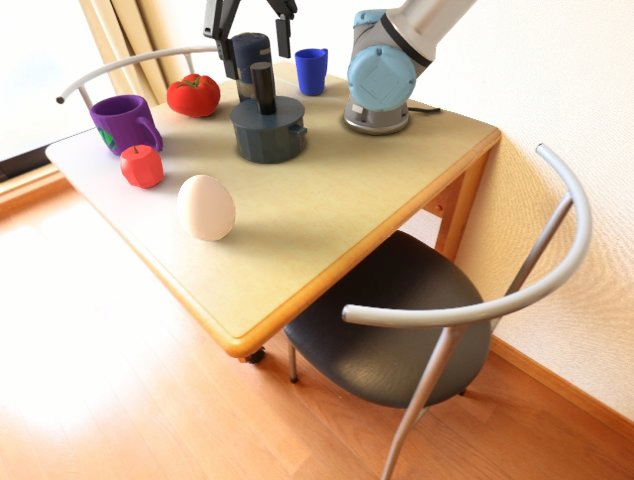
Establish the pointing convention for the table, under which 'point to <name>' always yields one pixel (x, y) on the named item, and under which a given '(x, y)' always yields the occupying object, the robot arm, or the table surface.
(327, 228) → the table surface
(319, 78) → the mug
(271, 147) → the pot
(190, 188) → the egg
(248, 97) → the canister
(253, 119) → the lid
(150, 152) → the apple
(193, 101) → the tomato
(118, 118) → the mug
